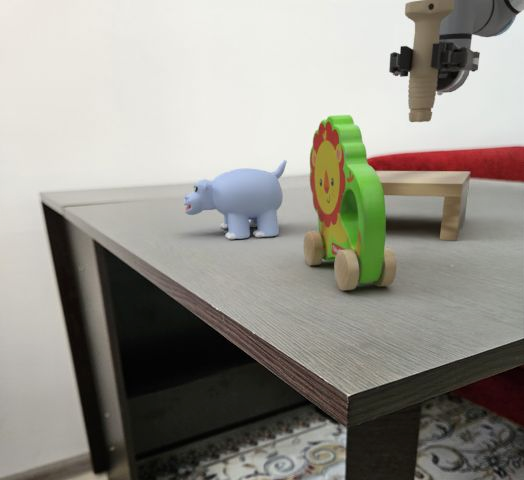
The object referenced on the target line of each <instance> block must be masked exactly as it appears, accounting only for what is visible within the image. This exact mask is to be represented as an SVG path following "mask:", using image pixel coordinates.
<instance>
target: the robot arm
mask: <svg viewBox="0 0 524 480" xmlns="http://www.w3.org/2000/svg"><path fill="white" fill-rule="evenodd" d="M523 11H524V0H454V8H453V11H452V12H451V13H450V14H449V15H448V16H446V17H445V18H444V19H443V20H442V21H441V25H440V34H439V43H435V44H433V49H432V61H431V67H432V68H435V69H438V76H437V78H438V80H437V87H436V88H437V90H436V95H437V96H442V95H443V94H445V93H453V92H455V91H457V90H458V89H459V88H461V87H462V86H463V85H464V84H465V82H466V81H467V79H468V77H469V75H470V72H474V73H475V72H476V71H478V70H479V63H480V54H481V53H480V51H473V50H472V49H471V47H472V41H473V40H472V38H473V36H479V37H481V38H491V37H498V36H501V35H503V34H504V33H505V32H507V31H508V30H510V28H511V26H512V25H513V23H514V22H515V20H516V18H517V15H519V14H520V13H521V12H523ZM399 50H400V52H396V51H395V52H394V51H393V52H391V53H390V54H389V68H388V69H389V70H388V72H389V73H390V74H392V76H394V77H398V76H399V77H401V78H404V77H409V73H410V71H411V62H412V53H413V48H412V47H410V46H408V45H402V46H400V49H399Z"/></svg>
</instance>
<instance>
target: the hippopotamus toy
mask: <svg viewBox="0 0 524 480" xmlns="http://www.w3.org/2000/svg"><path fill="white" fill-rule="evenodd" d="M287 163H288V161H287V160H285V159H283V161H282V162H281V164H279V166H277V168H276V170H275V171H271V172H269V171H268V170H262V169H258V168H245V167H244V168H236V169H232V170H229V171H225V172H223V173H221V174H218V175H217V176H215V177H214V178H213V180H208V179H206V178H204V179H200V180H198V181H197V182H196V183H195V184H194V185H193V190H194V191H192V192H191V193H184V199H183V205H184V206H186V207H185V209H184V212H185V213H186V214H187V215H189V216H195V215H198V214H200V213H202V212H203V211H215V210H216V211H217V212H218V213H220V214H221V215H223V222H221V224H220V227H221V228H222V229H225V230H228V231H227V232H226V233H225V235H224V236H225V238H227V240H236V239H237V240H241V239H242V240H243V239H247V238H250V237H251V229H250V228H257V229H254V230H253V231H252V235H253V236H254V237H255V238H269V237H276V236H279V235H280V231H279V222H278V221H279V220H278V213H277V211H278V210H279V209H280V208H281V206H282V204H283V198H284V197H283V196H284V195H283V190H282V186H281V184H280V181H279V179H280V178H281V177H282V176H283V174H284V172H285V169H286V167H287V166H286V165H287Z"/></svg>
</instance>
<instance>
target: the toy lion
mask: <svg viewBox="0 0 524 480" xmlns="http://www.w3.org/2000/svg"><path fill="white" fill-rule="evenodd" d="M367 156H368V155H367V148H366V145H365V143H364V141H363V136H362V132H361V129H360V127H359V125H357V124H355V122H354V119H353V117H352V115H350V114H341V115H337V114H336V115H329V116H327V118H326V119H322V120H321V121H320V123H319V125H318V129H316V130H315V132H314V133H313V137H312V146H311V148H310V152H309V170H310V171H309V187H310V191H311V194H312V204H313V208H314V211H315V212H316V213H317V221H318V231H316V230H312V231H311V230H310V231H307V232H306V233H305V235H304V238H303V256H304V260H305V263H306V264H307V265H308V266H320V265H321V264H322V262H323V260H324V261H326V262H327V261H334V264H333V271H334V272H333V273H334V279H335V283H336V286H337V288H338V289H339V290H340V291H353V290H355V289H356V288H357V287H358V284H367V283H371V282H372V283H373V285H374V286H376V287H388V286H391V284H392V283H394V281H395V278H396V275H397V260H396V256H395V253H394V251H393V250H392V249H391V248H389V247H386V232H387V231H386V230H387V229H386V227H387V223H386V222H387V217H386V216H387V215H386V201H385V195H384V194H383V189H382V185H381V182H380V179H379V177H378V175H377V173H376V172H375V171H376V170H375V169H374V168H373V166H371V165H370V164H369V162H368V157H367Z"/></svg>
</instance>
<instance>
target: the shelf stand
mask: <svg viewBox="0 0 524 480" xmlns="http://www.w3.org/2000/svg"><path fill="white" fill-rule="evenodd" d="M375 172H376V173H377V175H378V177H379V179H380V182H381V185H382V189H383V194H384V196H399V197H400V196H402V197H404V196H406V197H442V198H444V199H443V206H442V215H441V223H440V233H439V240H440V241H457V240H458V238H459V235H460V232H461V230H462V227H463V225H464V223H465V220H466V211H467V205H468V197H469V196H468V195H469V188H470V182H471V181H470V180H471V171H466V170H465V171H462V170H461V171H460V170H459V171H456V170H455V171H454V170H453V171H451V170H450V171H448V170H447V171H445V170H443V171H441V170H434V171H433V170H375Z"/></svg>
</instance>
